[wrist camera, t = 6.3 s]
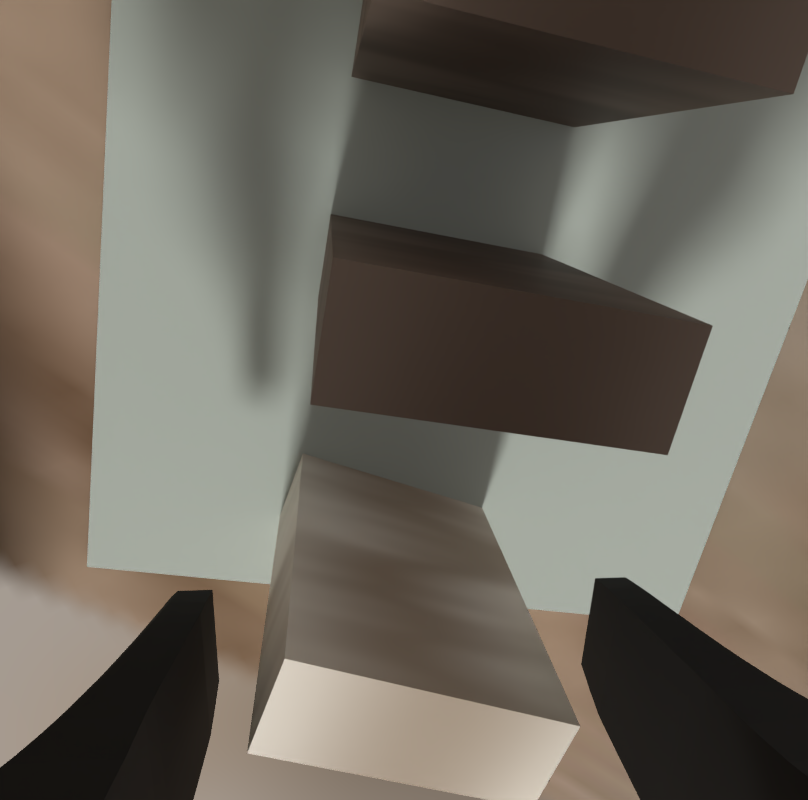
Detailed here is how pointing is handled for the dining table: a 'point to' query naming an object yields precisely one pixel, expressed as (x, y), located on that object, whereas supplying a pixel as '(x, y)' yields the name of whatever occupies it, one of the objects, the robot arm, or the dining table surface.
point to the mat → (423, 211)
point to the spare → (403, 644)
